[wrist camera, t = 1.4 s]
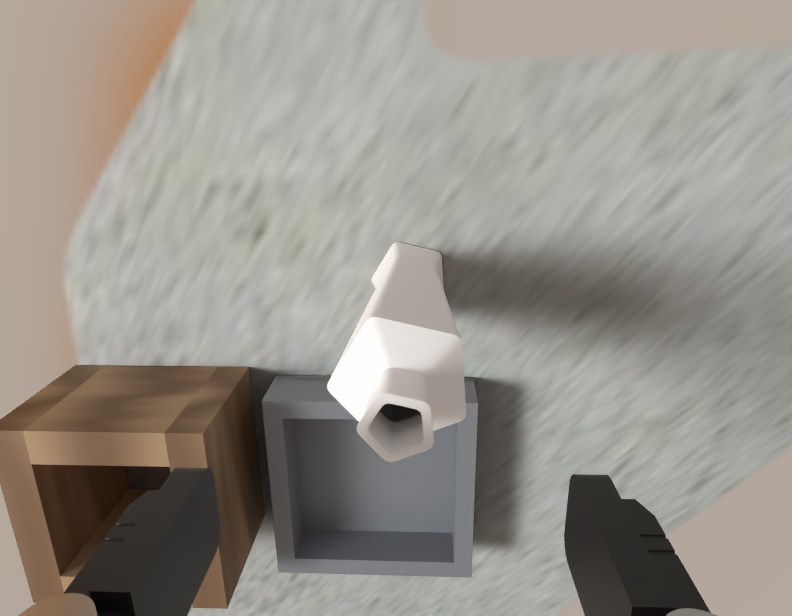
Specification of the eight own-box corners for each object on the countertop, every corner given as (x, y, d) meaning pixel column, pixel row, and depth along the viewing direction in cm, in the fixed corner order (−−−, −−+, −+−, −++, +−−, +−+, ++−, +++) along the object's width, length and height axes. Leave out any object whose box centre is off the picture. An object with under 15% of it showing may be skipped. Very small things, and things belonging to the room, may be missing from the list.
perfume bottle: (358, 310, 30) (300, 481, 16) (375, 230, 29) (328, 343, 15) (441, 329, 31) (456, 516, 16) (462, 251, 29) (499, 382, 15)
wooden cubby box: (248, 367, 32) (202, 433, 25) (264, 515, 35) (227, 608, 28) (75, 365, 32) (-15, 430, 26) (106, 511, 36) (33, 602, 29)
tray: (473, 377, 31) (478, 403, 29) (467, 539, 35) (471, 577, 32) (276, 375, 32) (261, 400, 29) (290, 535, 35) (278, 572, 33)
